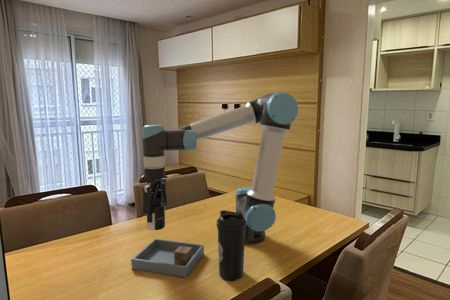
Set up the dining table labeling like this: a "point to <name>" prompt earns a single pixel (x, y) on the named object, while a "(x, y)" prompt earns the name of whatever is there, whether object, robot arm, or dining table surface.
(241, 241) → the water bottle
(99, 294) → the dining table surface
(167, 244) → the tray
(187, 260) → the walnut cube
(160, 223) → the supplement bottle
